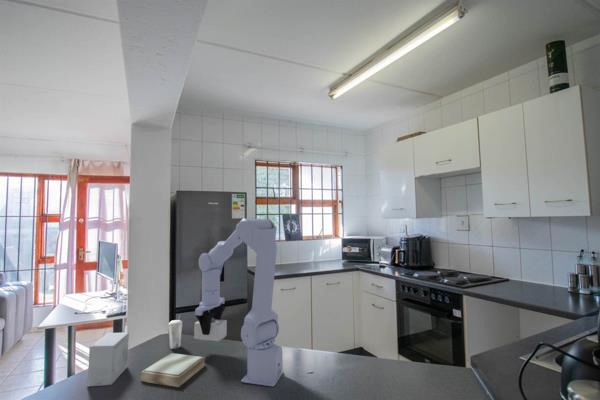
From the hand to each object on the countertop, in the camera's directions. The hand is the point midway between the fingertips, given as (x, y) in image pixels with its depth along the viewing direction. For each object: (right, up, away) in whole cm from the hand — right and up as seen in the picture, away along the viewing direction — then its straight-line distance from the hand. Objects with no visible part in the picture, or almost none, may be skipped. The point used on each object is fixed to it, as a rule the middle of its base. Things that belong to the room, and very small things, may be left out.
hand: (210, 331), depth 100 cm
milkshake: (-14, -8, +5) cm, 17 cm away
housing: (0, -2, 0) cm, 2 cm away
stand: (-7, -6, -13) cm, 16 cm away
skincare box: (-25, -7, -14) cm, 29 cm away
